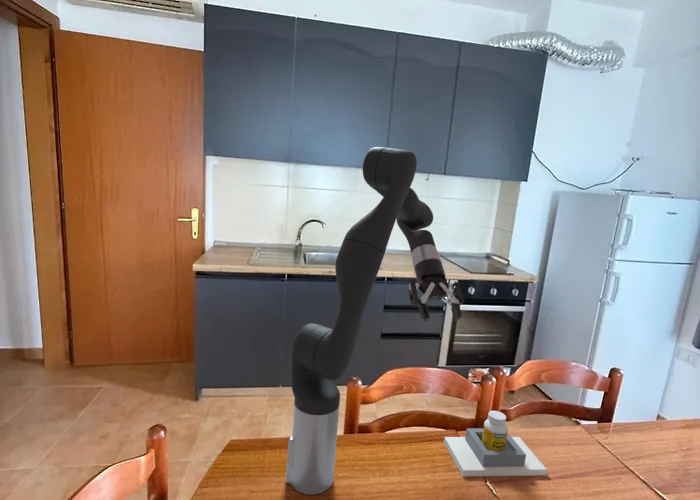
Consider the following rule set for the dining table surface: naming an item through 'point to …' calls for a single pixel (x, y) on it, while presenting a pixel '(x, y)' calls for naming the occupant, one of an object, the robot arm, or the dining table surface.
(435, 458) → the dining table surface
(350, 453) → the dining table surface
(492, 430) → the supplement bottle
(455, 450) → the collar board
